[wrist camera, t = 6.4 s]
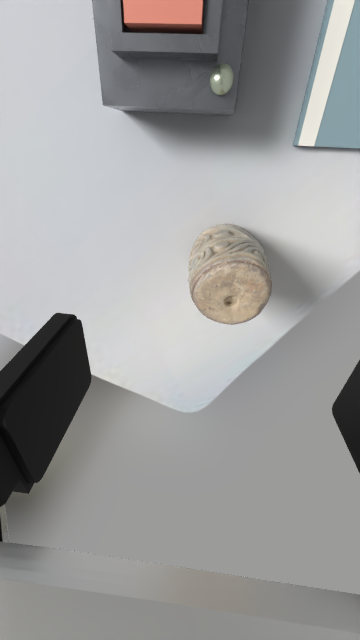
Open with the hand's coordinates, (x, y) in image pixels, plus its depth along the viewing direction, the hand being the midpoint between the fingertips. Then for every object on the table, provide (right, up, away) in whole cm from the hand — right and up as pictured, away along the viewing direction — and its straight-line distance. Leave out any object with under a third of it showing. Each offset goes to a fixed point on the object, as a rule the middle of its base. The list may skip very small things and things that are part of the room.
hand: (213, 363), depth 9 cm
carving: (+4, +10, +21) cm, 24 cm away
